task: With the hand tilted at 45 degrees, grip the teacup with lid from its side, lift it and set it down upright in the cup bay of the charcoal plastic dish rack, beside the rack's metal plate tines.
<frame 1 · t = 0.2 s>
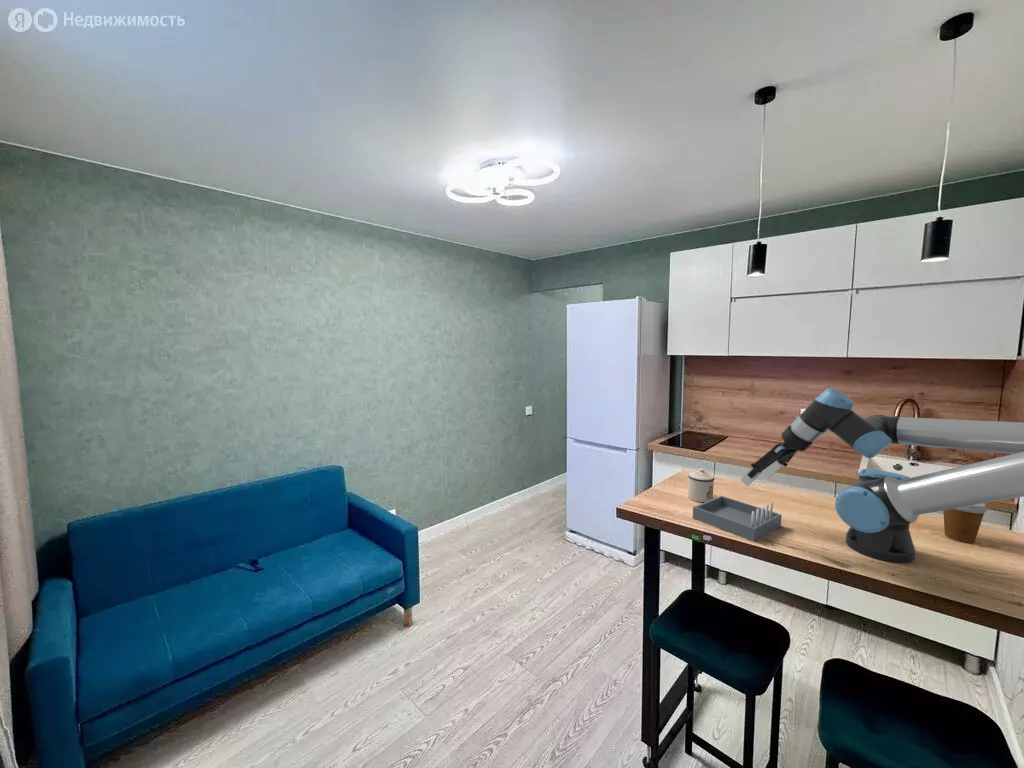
hand: (754, 479, 135), 15 cm above the table, tool tilted 35°, fingers open, 13 cm apart
disposable coffee cup: (959, 538, 127), on the table
dish rack: (735, 522, 138), on the table
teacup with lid: (700, 497, 160), on the table
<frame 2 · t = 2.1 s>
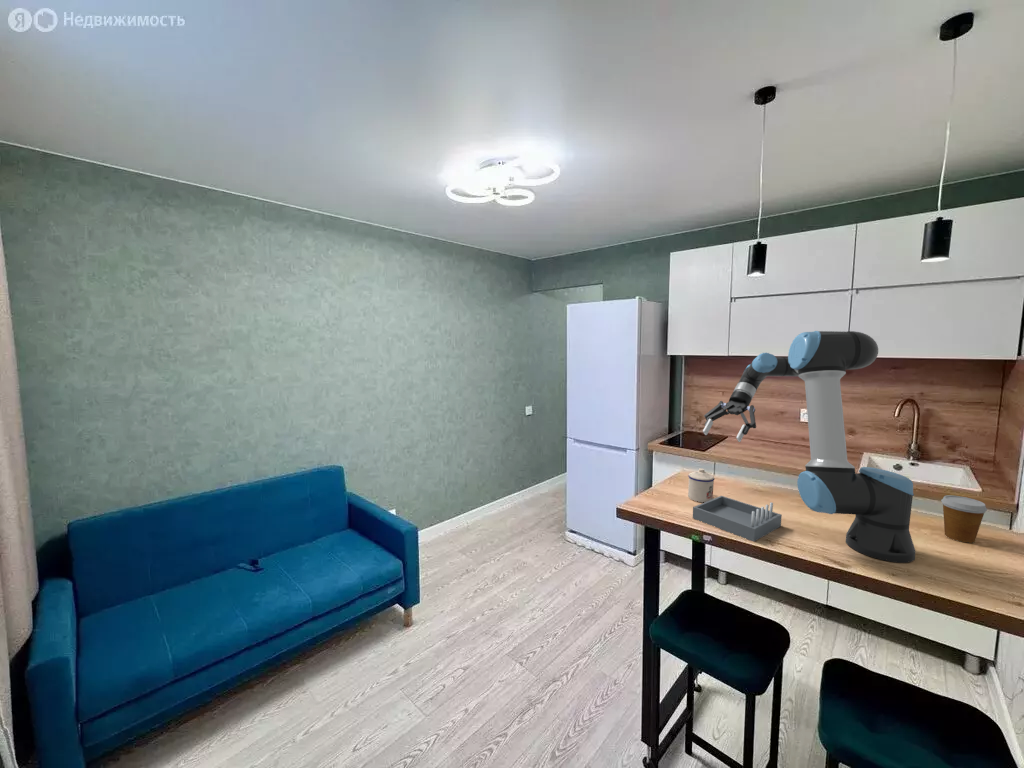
hand: (720, 436, 165), 22 cm above the table, tool tilted 45°, fingers open, 13 cm apart
nothing on the table moved.
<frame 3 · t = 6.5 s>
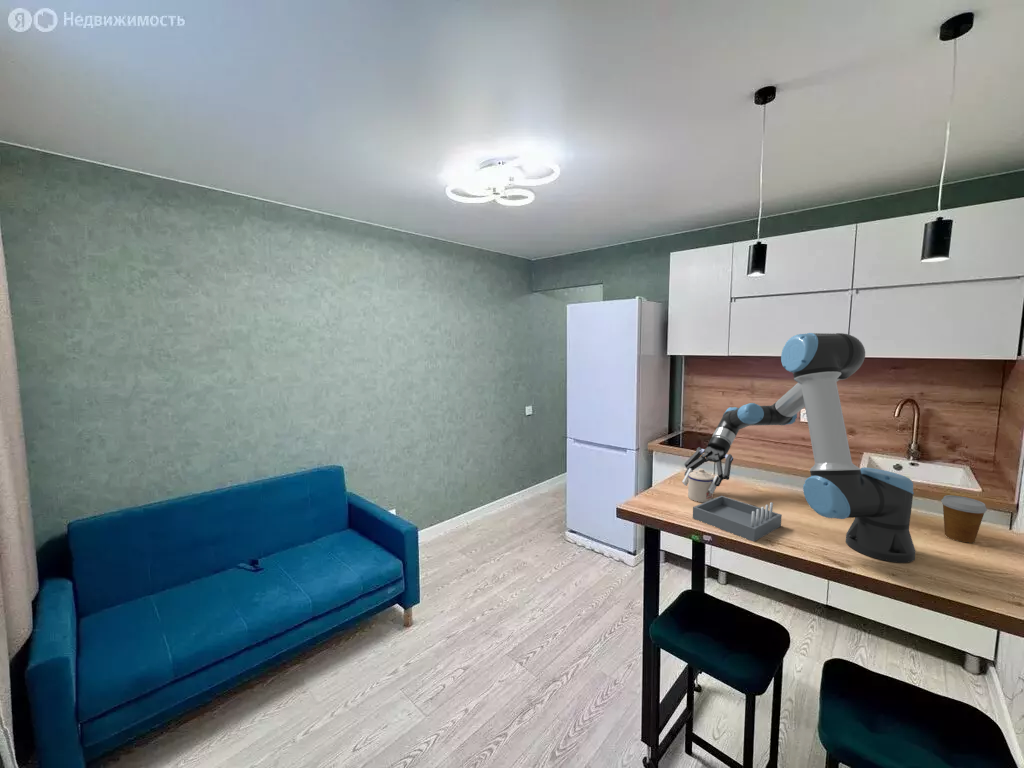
hand: (697, 487, 158), 4 cm above the table, tool tilted 45°, fingers open, 10 cm apart
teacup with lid: (700, 497, 160), on the table, touching gripper
everything else where it was.
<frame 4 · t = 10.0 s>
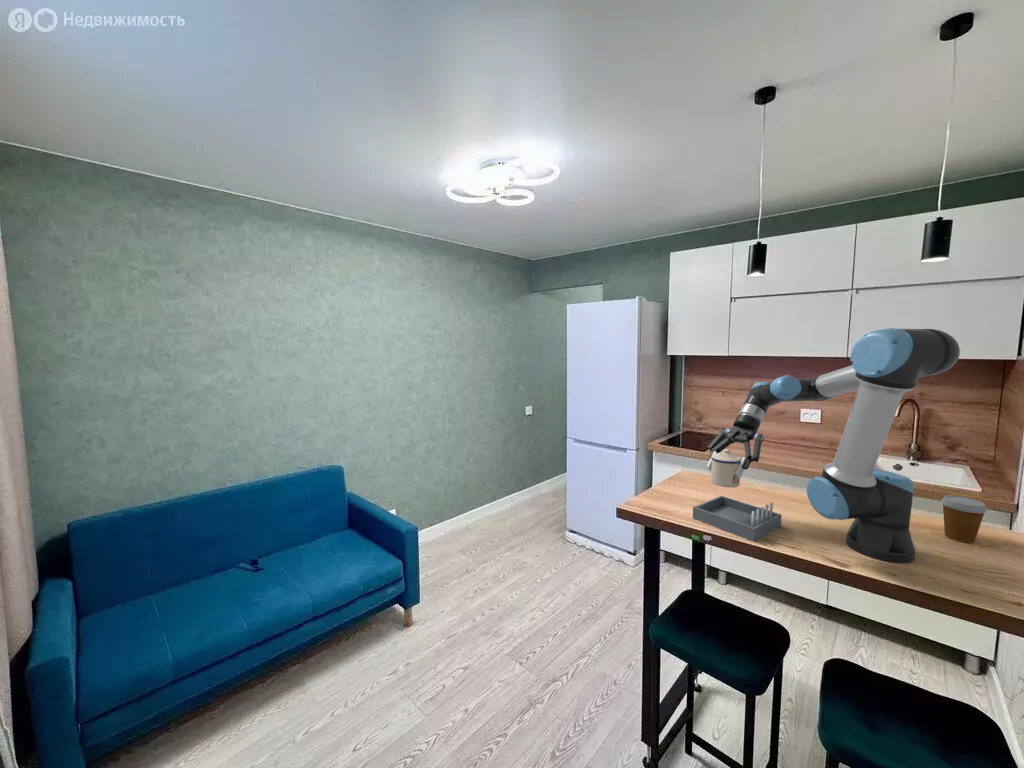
hand: (722, 472, 138), 17 cm above the table, tool tilted 45°, fingers closed on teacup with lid, 9 cm apart
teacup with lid: (725, 482, 141), point 12 cm above the table, touching gripper
everything else where it was.
when the fingers open (7 cm above the table, at t = 13.1 s): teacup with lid drops 1 cm, resting on dish rack.
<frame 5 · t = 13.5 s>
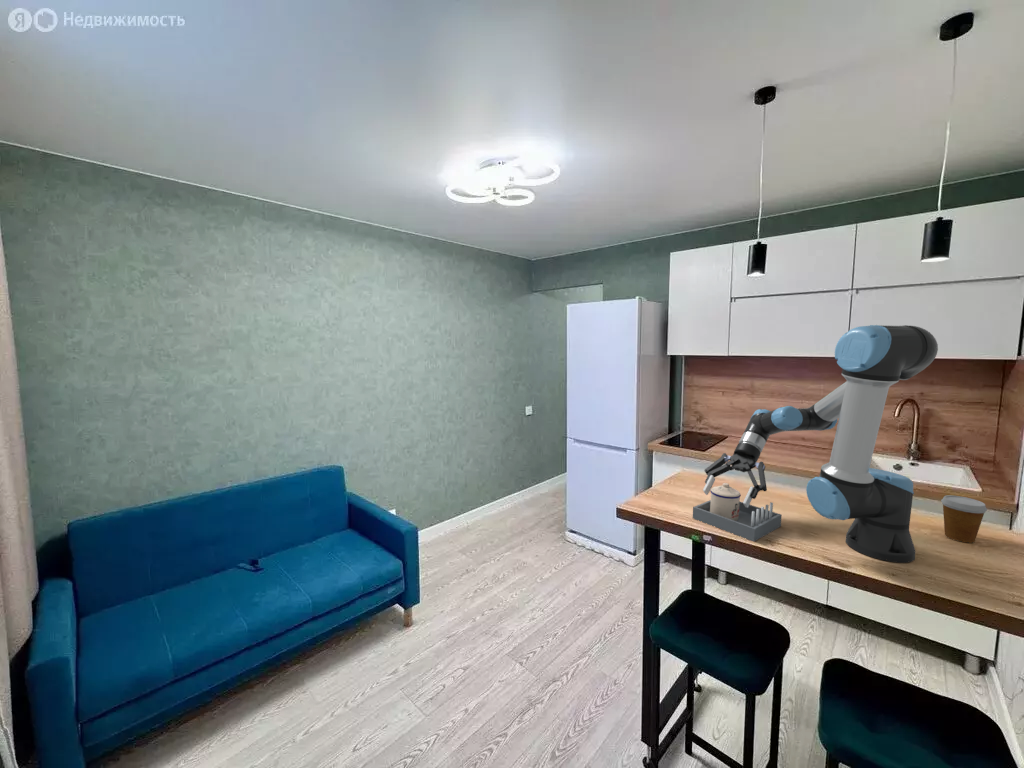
hand: (724, 498, 139), 8 cm above the table, tool tilted 45°, fingers open, 13 cm apart
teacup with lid: (724, 516, 141), point 1 cm above the table, touching dish rack
everything else where it was.
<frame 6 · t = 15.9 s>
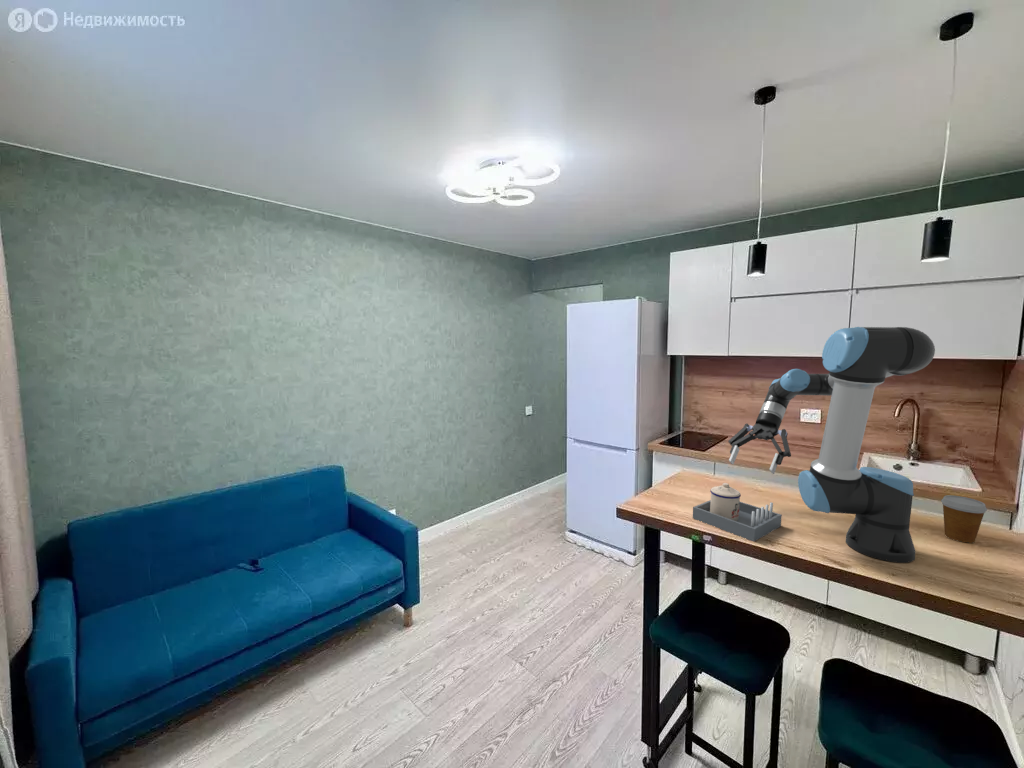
hand: (750, 467, 146), 16 cm above the table, tool tilted 40°, fingers open, 13 cm apart
nothing on the table moved.
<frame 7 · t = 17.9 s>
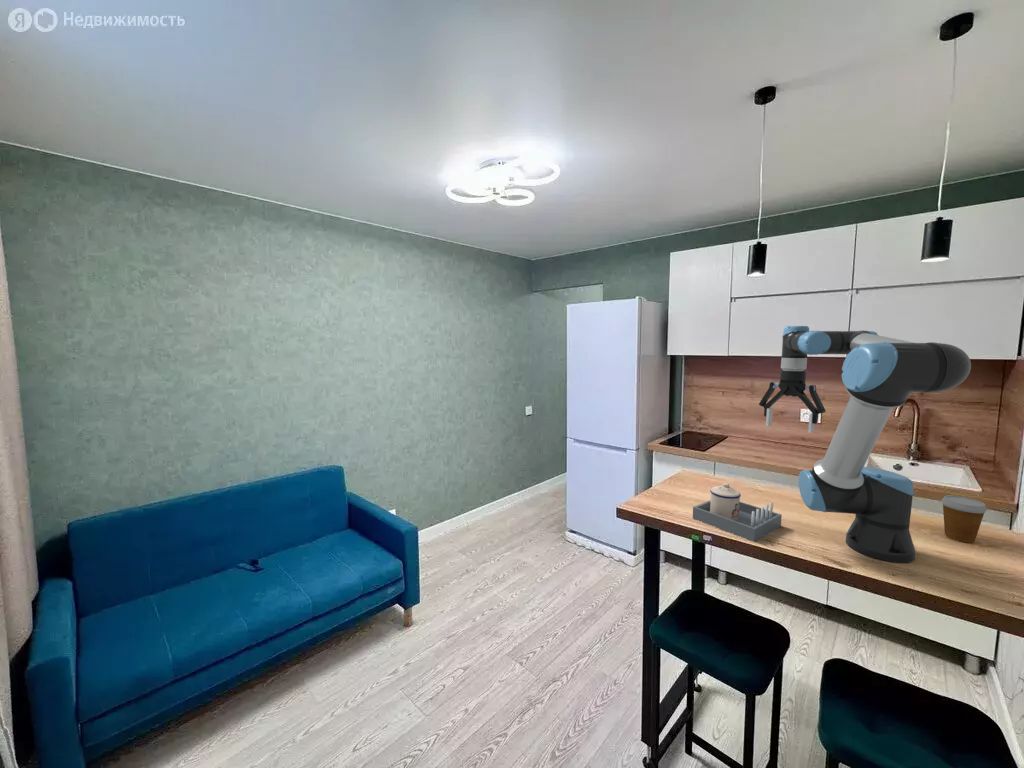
hand: (788, 429, 149), 29 cm above the table, tool pointing down, fingers open, 13 cm apart
nothing on the table moved.
at the end: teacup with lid inside the target area on the dish rack (0.8 cm from its centre), point 0.8 cm above the dish rack's base; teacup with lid tilted 0°; the gripper is holding nothing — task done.
